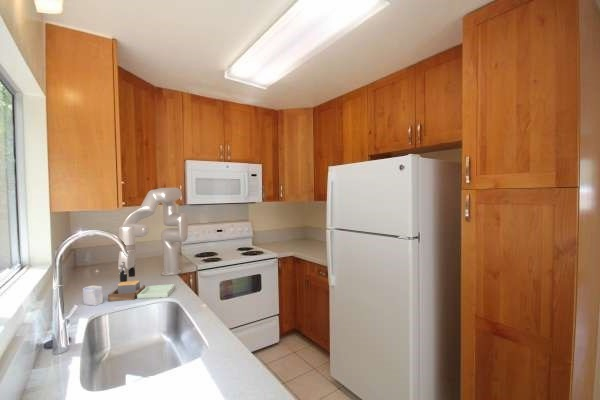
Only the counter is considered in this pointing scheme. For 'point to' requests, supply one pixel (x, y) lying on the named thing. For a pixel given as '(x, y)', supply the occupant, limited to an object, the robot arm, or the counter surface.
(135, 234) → the robot arm
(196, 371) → the counter surface
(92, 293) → the medicine box
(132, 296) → the bay
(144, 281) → the counter surface
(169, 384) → the counter surface
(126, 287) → the caddy
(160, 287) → the tray
